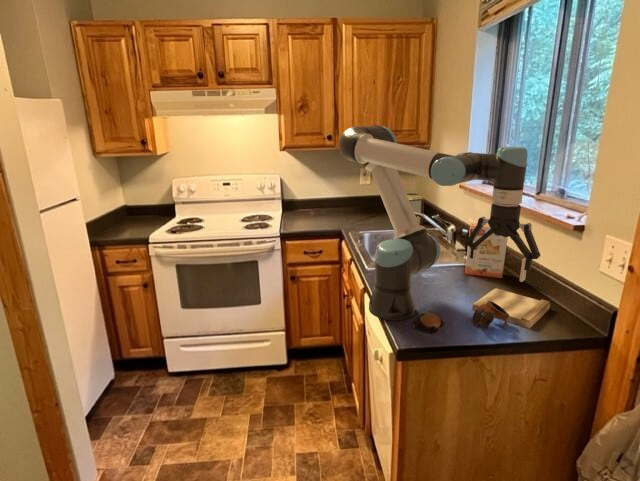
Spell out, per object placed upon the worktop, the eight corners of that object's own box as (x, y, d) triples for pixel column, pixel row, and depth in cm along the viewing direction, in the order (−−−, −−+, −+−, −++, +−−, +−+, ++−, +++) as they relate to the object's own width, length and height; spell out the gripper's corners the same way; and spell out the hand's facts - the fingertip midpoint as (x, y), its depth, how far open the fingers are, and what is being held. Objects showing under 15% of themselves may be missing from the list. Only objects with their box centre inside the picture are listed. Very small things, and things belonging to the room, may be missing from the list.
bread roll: (420, 316, 128) (421, 305, 127) (446, 322, 124) (447, 311, 123) (409, 330, 120) (409, 319, 118) (436, 337, 115) (437, 326, 114)
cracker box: (465, 275, 160) (469, 225, 154) (465, 269, 165) (469, 221, 159) (502, 279, 155) (509, 228, 149) (501, 273, 160) (507, 224, 154)
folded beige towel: (472, 309, 131) (472, 302, 130) (494, 293, 142) (495, 286, 142) (529, 328, 118) (530, 320, 117) (549, 308, 130) (550, 301, 129)
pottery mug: (471, 315, 127) (487, 296, 125) (497, 335, 124) (514, 315, 121) (464, 322, 117) (481, 301, 115) (492, 344, 113) (510, 322, 111)
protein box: (417, 218, 253) (419, 194, 249) (422, 224, 239) (424, 199, 234) (401, 218, 254) (402, 194, 249) (405, 224, 239) (406, 199, 234)
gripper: (457, 200, 115) (451, 268, 121) (552, 212, 98) (540, 289, 105) (468, 196, 120) (461, 261, 126) (560, 207, 104) (548, 281, 110)
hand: (497, 274), depth 115 cm, fingers open, 13 cm apart
